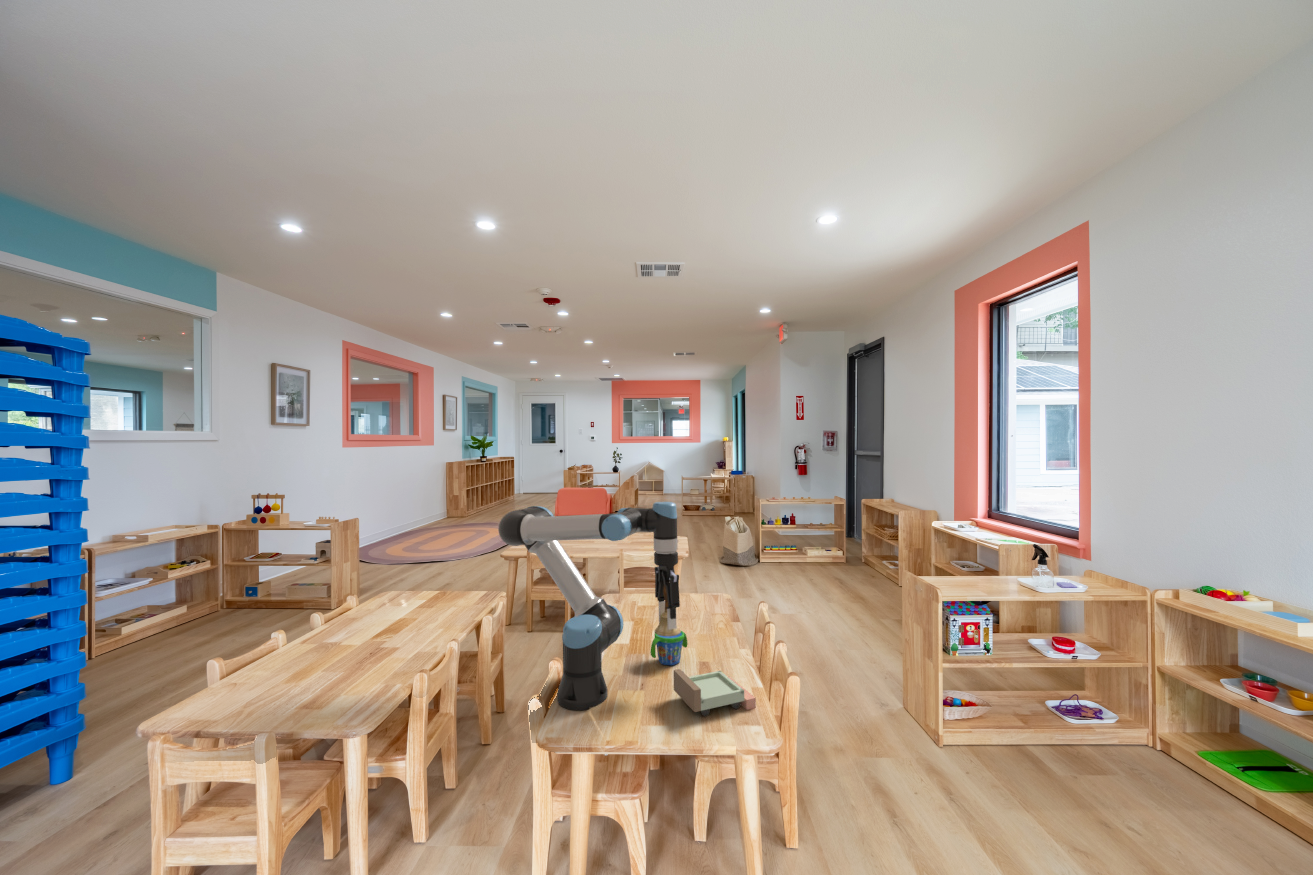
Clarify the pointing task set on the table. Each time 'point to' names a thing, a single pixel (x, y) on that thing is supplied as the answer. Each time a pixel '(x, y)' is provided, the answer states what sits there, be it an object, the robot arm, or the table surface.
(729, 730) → the table surface
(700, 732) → the table surface
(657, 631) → the hand bell
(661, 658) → the snack cup
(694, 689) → the pale green tray
